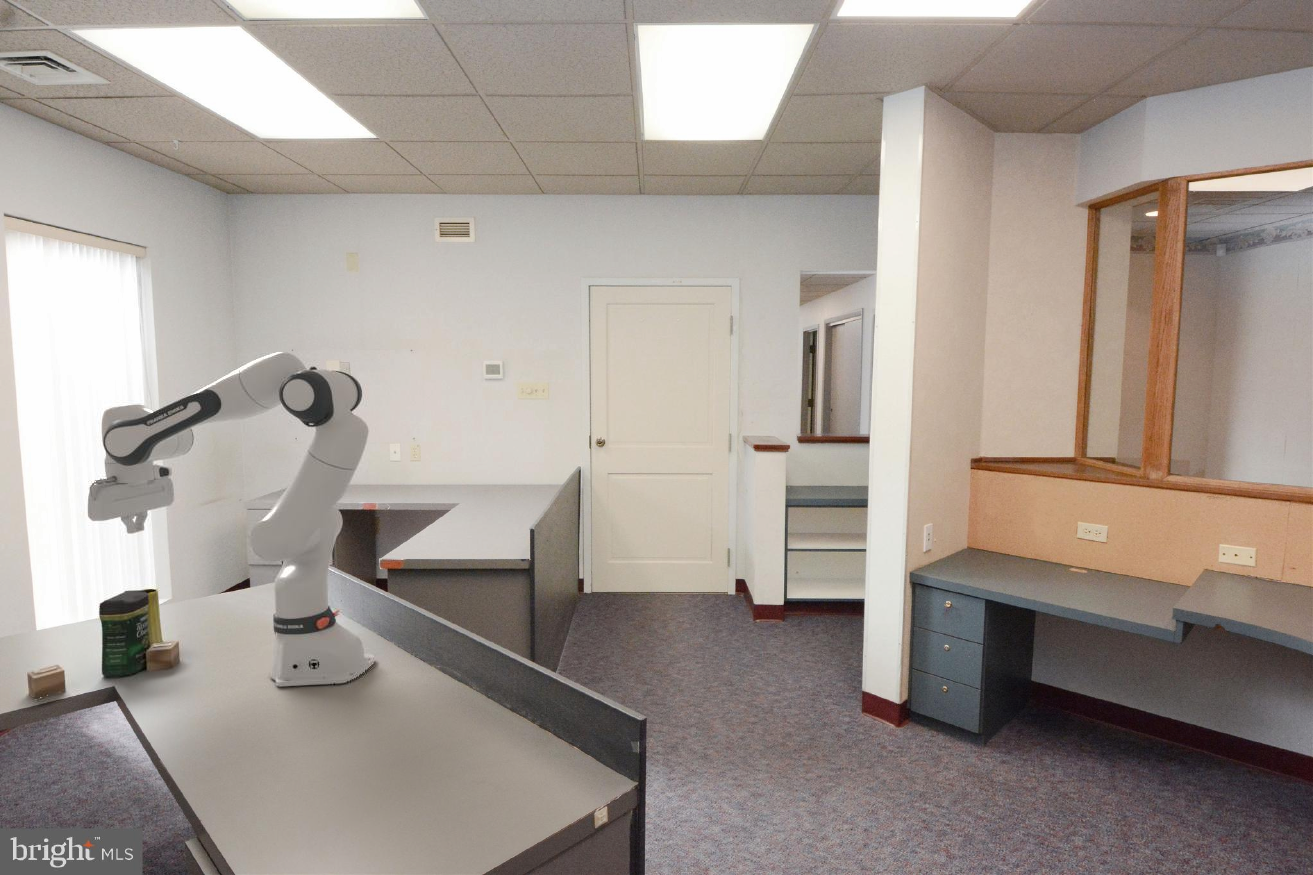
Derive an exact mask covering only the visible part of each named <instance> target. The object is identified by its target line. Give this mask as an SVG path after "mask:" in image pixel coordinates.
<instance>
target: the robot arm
mask: <svg viewBox="0 0 1313 875" xmlns="http://www.w3.org/2000/svg"><path fill="white" fill-rule="evenodd" d="M362 397H363V389H362V386H361V383H360V382H359V381H358V380H357V378H355V377H354V376H353V375H351V374H349V373H347V372H343V371H341V370H329V369H311V370H309V369H307V368H306V366H305V364H304V362H302V361H301V359H300V358H298V357H297V356H296V355H294V354H292V353H289V352H287V351H280V352H279V351H278V352H275V353H271V354H269V355H266V356H262V357H261V358H258V359H256V360H253V361H251V362H248V363H247V364H245V365H243V366H241V367H239V368H237V369H235V370H234V371H232V372H231V373H228V374H227V375H225V376H223V377H221V378H219V379H218V380H216V381H214V382H212V383H211V384H208V385H207V386H205V387H203V388H201V389H198V390H197V391H195V392H193V393H191V394H190V395H187V396H185V397H183V398H181V399H178V400H176V401H174V402H172V403H170V404H167V405H165V406H163V407H162V408H159V409H156V410H154V411H153V410H151V409H149V408H148V407H147V406H146V405H145V404H141V403H127V404H120V405H115V406H111V407H108V408H107V409H105V410H104V412H103V415H102V418H101V439H102V440H101V442H102V446H103V448H104V451H105V458H104V470H105V477H104V478H97V479H95V480H94V481H93V482H92V483H91V484H90V485H89V489H88V490H89V492H88V497H87V498H88V499H87V517H88V518H89V520H91V521H92V522H104V521H108V520H113V519H114V520H115V519H119V518H120V521H121V522H122V524H124V526H125V527H126V528H125V529H126V534H128V535H129V534H135V533H140V532H142V531H143V532H144V531H145V522H146V520H147V517H148V515H149V514H148V511H152V510H156V509H161V508H165V507H169V506H170V507H171V506H172V504H173V503H174V500H175V492H174V491H175V490H174V484H173V480H172V479H171V476H172V475H173V474H172V473H173V472H172V468H171V467H167V466H164V465H159V464H155V463H154V462H156V461H162V460H167V459H169V460H170V459H173V458H178V457H181V456H183V455H186V454H187V453H188V452H189V451H190V450H191V449H192V447H193V445H194V438H195V437H194V433H193V432H194V431H193V429H192V428H195V427H198V426H201V425H206V424H210V423H216V422H219V423H220V422H225V421H235V420H236V421H237V420H238V421H239V420H243V419H244V420H245V419H248V418H252V417H256V416H258V415H262V414H264V413H266V412H268V411H270V410H272V409H274V408H276V407H278V406H279V405H282V407H283V408H284V409H285V410H286V411H287V412H288V413H289V414H290V415H292V416H293V417H295V418H296V419H298V420H299V421H300V422H302V423H303V425H305V427H308V428H315V432H314V433H315V434H314V436H313V439H312V441H311V443H310V445H309V447H308V448H307V451H306V452H305V456H304V457H303V460H302V462H301V464H300V466H299V468H298V470H297V472H296V474H295V476H294V477H293V479H292V481H291V482H290V484H289V485H288V486H287V488H286V489H285V490H284V491H283V493H282V495H281V496H280V497H279V498H278V499H277V501H276V502H275V503H274V505H273V506H272V508H271V509H269V511H268V512H267V514H265V516H264V517H262V519H261V520H259V521H258V522H257V523H256V524H254V526H253V527H252V528H251V529H250V532H249V534H248V535H249V536H248V544H249V548H250V549H251V551H252V553H253V554H254V556H255V557H257V558H258V559H259V560H262V561H264V562H267V563H268V562H269V563H274V562H276V563H277V562H282V565H281V568H280V570H279V572H278V574H277V576H276V577H275V580H274V584H273V590H274V610H275V611H274V614H273V620H272V621H273V632H274V636H275V640H274V643H275V644H274V650H273V651H274V652H273V653H274V654H273V659H272V664H271V669H270V672H269V677H270V678H271V679H272V680H274V681H275V685H276V686H277V687H292V686H293V687H296V686H312V685H313V686H314V685H332V684H334V683H335V684H344V683H347V681H348V682H350V680H351V679H353V680H355V679H357V678H358V677H360V676H361V675H360V674H362V673H363V672H364V673H366V672H365V670H367V669H368V668H369V667H370V665H372V663H373V661H374V662H375V657H374V655H373V654H369V653H365V650H364V646H363V642H362V639H361V638H360V637H359V636H358V635H356V634H354V633H353V632H351V631H350V630H348V629H347V628H346V627H344V626H343V625H341V624H339V623H338V622H337V619H336V617H337V616H339V615H340V613H339V612H340V610H339V609H338V610H336V611H334V612H333V610H332V608H331V606H330V605H329V591H328V590H329V588H328V585H329V584H328V583H329V582H328V578H329V569H330V564H331V559H332V555H333V554H332V553H333V549H334V546H335V543H336V540H337V537H338V535H339V534H340V532H341V530H342V528H343V523H344V522H343V520H344V519H343V516H342V513H341V511H340V510H339V508H337V506H336V504H337V503H338V502H340V501H341V499H342V498H343V497H344V495H345V494H346V491H347V489H348V488H349V485H350V483H351V481H352V479H353V477H354V475H355V472H356V471H357V468H358V466H359V464H360V462H361V459H362V457H363V454H364V451H365V449H366V446H367V445H366V444H367V441H368V436H369V427H368V424H367V423H366V422H365V420H363V419H362V418H361V417H359V416H358V415H356V414H354V413H353V411H355V409H357V408H358V406H360V403H361V401H362V400H363V398H362ZM134 519H135V521H134ZM373 664H374V663H373ZM372 666H373V665H372ZM370 668H371V667H370ZM370 668H369V669H370ZM369 669H368V670H369ZM368 670H367V671H368ZM364 673H363V674H364ZM363 674H362V675H363ZM359 675H360V676H359ZM357 676H358V677H357ZM356 677H357V678H356ZM354 678H355V679H354ZM351 681H352V680H351ZM335 684H334V685H335Z"/></svg>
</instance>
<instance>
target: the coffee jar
mask: <svg viewBox="0 0 1313 875" xmlns="http://www.w3.org/2000/svg"><path fill="white" fill-rule="evenodd" d="M98 608H99V609H98V616H99V621H100V623H101V637H102V639H101V645H102V646H101V675H102V676H104V677H108V678H113V679H114V678H115V679H117V678H122V677H125V676H129V675H130V676H131V675H134V674H137V673H139V672H141V671H142V670H143V669H145V668H147V661H146V651H147V650H148V649H149V648H150V647H151V646H150V639H149V629H148V609H149V600H148V594H147V593H146V592H144V591H143V589H140V590H133V589H132V590H125V591H123V592H121V593H119V594H117V595H115V596H113V597H110V598H108V599H105V600H103V601H102V602H100V603H99V607H98Z"/></svg>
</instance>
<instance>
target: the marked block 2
mask: <svg viewBox="0 0 1313 875" xmlns="http://www.w3.org/2000/svg"><path fill="white" fill-rule="evenodd" d="M180 658H181V656H180V642H179V640H175V641H173V640H172V641H163V642H162V643H154V644H153V645H152V646H151V647H150V648H149V649H148V650H147V651H146V661H147V667H146V671H147V672H154V671H162V670H163V671H164V670H170V669H173V668H174V667H175V666H177V664H178V663H179V662H180V661H181V660H180Z"/></svg>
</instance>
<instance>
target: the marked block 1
mask: <svg viewBox="0 0 1313 875" xmlns="http://www.w3.org/2000/svg"><path fill="white" fill-rule="evenodd" d="M65 674H66V673H65V669H64V668H62V667H61V666H60V665H59V664H53V665H51V666H47V667H43V668H39V669H36V670H32V671H28V672H27V686H28V689H27V690H28V694H29V693H30V694H31V695H32V696H33V697H34V698H35V699H37V700H39V699H38V698H40V697H44V698H46V696H47V695H48V697H50V696H49V695H51V696H54V695H57V694H56V693H58V694H60V693H59V692H61V693H64V692H67V691H66V689H67V688H66V679H65V678H66V675H65ZM30 694H29V695H30ZM53 694H54V695H53ZM31 695H30V696H31ZM32 696H31V697H32ZM33 697H32V698H33ZM34 698H33V699H34ZM35 699H34V700H35Z"/></svg>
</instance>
